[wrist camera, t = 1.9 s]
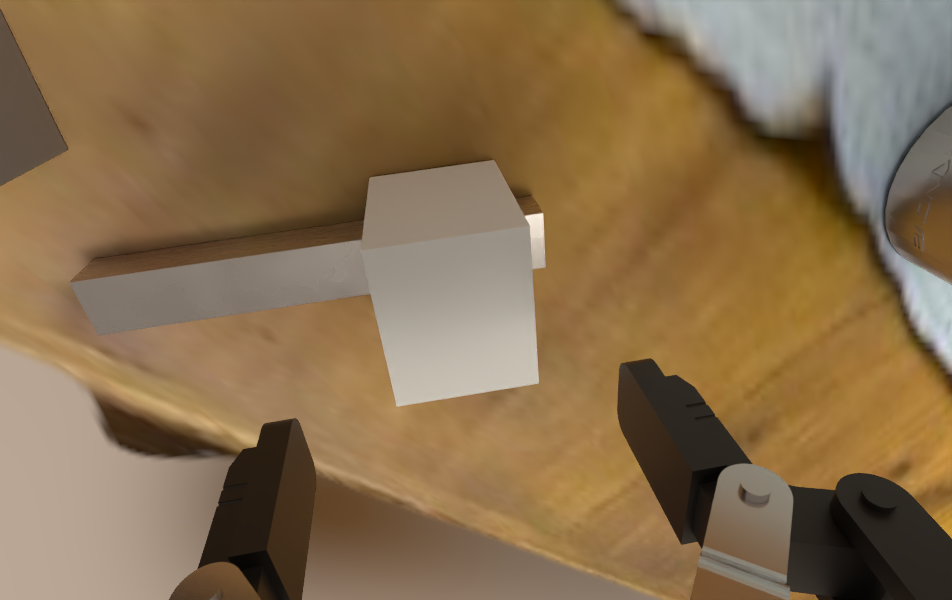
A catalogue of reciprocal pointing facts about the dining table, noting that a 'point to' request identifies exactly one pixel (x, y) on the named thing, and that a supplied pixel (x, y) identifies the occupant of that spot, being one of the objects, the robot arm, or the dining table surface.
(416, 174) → the carriage
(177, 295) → the rail
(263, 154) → the dining table surface
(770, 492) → the robot arm
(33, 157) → the grey square housing
